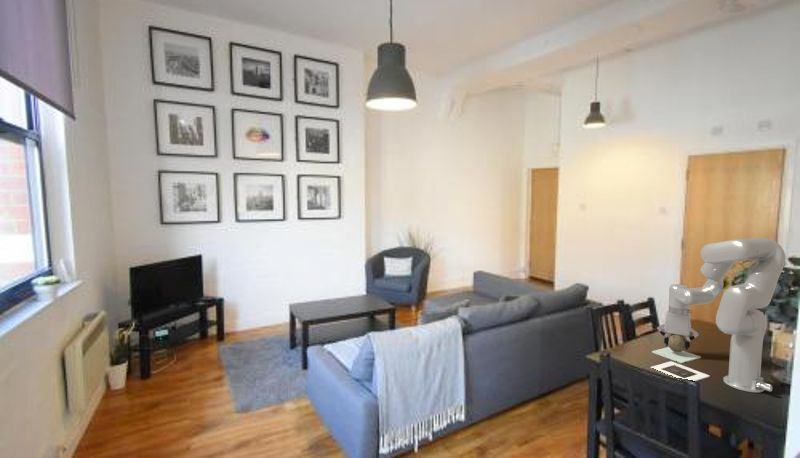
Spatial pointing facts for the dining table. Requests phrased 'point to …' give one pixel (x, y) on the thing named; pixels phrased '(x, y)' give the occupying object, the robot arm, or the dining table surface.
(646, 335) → the dining table surface
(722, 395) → the dining table surface
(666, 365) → the white square frame
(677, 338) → the decorative egg
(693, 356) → the sage mat
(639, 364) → the dining table surface
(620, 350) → the dining table surface
